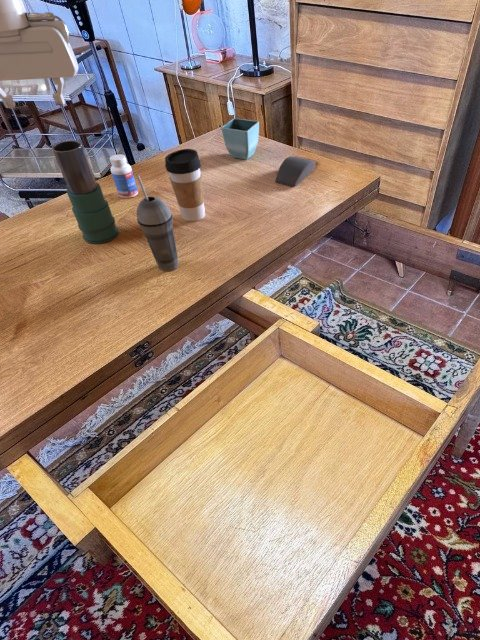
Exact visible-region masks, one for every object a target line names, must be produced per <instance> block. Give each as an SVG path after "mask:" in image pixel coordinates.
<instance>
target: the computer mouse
mask: <svg viewBox="0 0 480 640" xmlns="http://www.w3.org/2000/svg"><path fill="white" fill-rule="evenodd" d="M315 168H316V161H314V160H312V159H308V158H305V157H299V156H288V157H286V158H285V159H284V160H283V161H282V162H281V164H280V166H279V169H278V171H277V173H276V176H275V179H274V182H275V183H276V184H280V183H281V185H286V186H288V187H289V186H290V187H294V188H295V187H297V186H298V185H299V184H300V183H301V182H302V181H304V180H305V179H306V178H307V177H308V176H310V175H311V174H312V173H313V172H314V170H315Z"/></svg>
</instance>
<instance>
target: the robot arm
mask: <svg viewBox="0 0 480 640" xmlns="http://www.w3.org/2000/svg"><path fill="white" fill-rule="evenodd" d="M79 69H80V68H79V63H78V61H77V58H76V55H75V52H74V50H73V48H72V45H71V44H70V35H69V31H68V28H67V25H66V23H65V21H64V20H63V19H62V18H61V17H59V16H58V15H56V14H54V13H53V12H49V11H48V12H47V11H46V12H42V13H41V12H27V9H26V6H25V3H24V1H23V0H0V82H1V81H21V80H42V79H43V80H44V79H52V81H53V84H54V85H55V86H56V85H57V89H56V92H54V93H53V94H52V98H53V100H54V104H55V105H56V106H64V105H65V104H66V100H65V97H64V94H63V91H64V84H65V80H64V79H65V78H74V77H76V75H77V74H78V71H79ZM0 99H1V100H2V103H3V105H4V107H5V108H6V109H13V108H15V107H16V102H15V101H14V97H13V94H7V93H6V92H5V91H4V90H3V89H2V88H1V87H0Z"/></svg>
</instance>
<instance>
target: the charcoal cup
mask: <svg viewBox="0 0 480 640" xmlns="http://www.w3.org/2000/svg"><path fill="white" fill-rule="evenodd" d="M51 152H52V154H53V156H54V158H55V161H56V163H57V165H58V168H59V170H60V173H61V175H62V178H63V180H64V183H65V185H66V187H67V189H69V192H70V193H72V194H75V195H83V194H88V193H91V192H93V191H94V190H96V189H97V183H98V182H97V180H96V177H95V175H94V172H93V169H92V167H91V164H90V160H89V158H88V155H87V153H86V151H85V148H84V145H83V143H82V142H81V141H79V140H65V141H60V142H58V143H55V144H53V145H52V146H51Z"/></svg>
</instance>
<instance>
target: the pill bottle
mask: <svg viewBox="0 0 480 640" xmlns="http://www.w3.org/2000/svg"><path fill="white" fill-rule="evenodd" d="M109 162H110V164H111V166H110V172H111V176H112V179H113V183H114V186H115V188H116V191H117V195H118V197H120V198H121V199H122V198H123V199H130V198H134V197H136V196H137V195H138V193H139V190H138V186H137V183H136V179H135V176H134V173H133V169H132V166H131V165H130V164H129V163H127V157H126V155H125V154H122V153H121V154H114V155H111V156H109Z"/></svg>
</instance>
